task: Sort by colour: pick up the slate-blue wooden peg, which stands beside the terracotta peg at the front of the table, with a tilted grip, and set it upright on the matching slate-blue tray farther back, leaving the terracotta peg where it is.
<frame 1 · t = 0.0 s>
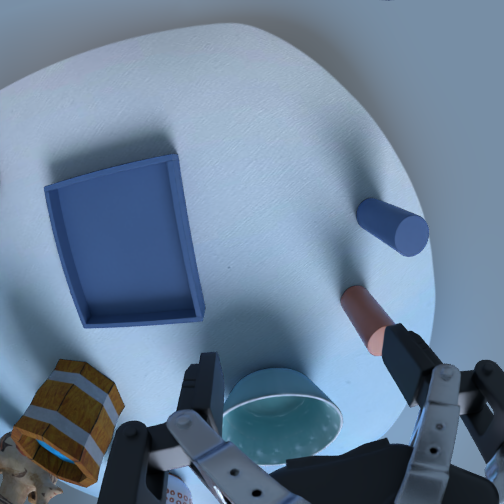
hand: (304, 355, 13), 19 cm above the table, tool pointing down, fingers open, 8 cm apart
blue peg: (371, 214, 31), on the table
terracotta peg: (354, 299, 34), on the table
vase: (163, 478, 47), on the table
blue tray: (125, 245, 31), on the table
wooden banded barrel: (75, 393, 38), on the table
bowl: (272, 390, 38), on the table
ceramic vessel: (42, 442, 45), on the table
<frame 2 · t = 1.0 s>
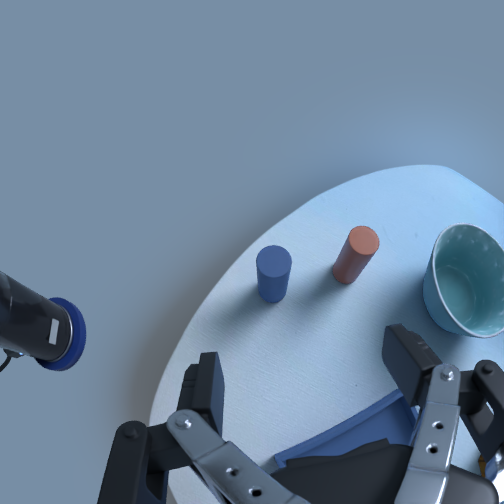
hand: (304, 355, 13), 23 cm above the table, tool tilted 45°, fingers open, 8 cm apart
blue peg: (272, 289, 38), on the table
terracotta peg: (345, 271, 39), on the table
blue tray: (362, 469, 27), on the table
bowl: (448, 297, 36), on the table
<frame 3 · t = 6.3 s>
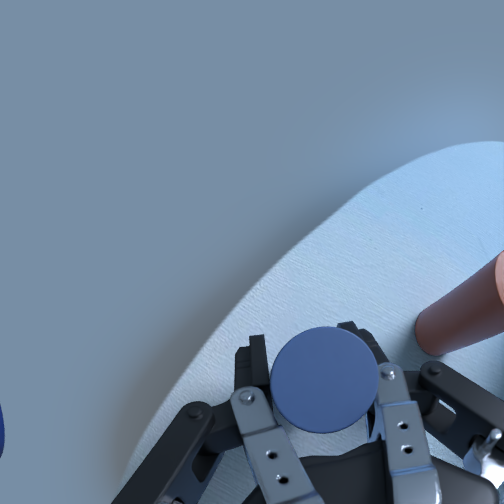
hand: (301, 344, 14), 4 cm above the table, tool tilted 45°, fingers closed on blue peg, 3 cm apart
blue peg: (299, 385, 17), on the table, touching gripper
terracotta peg: (436, 330, 17), on the table
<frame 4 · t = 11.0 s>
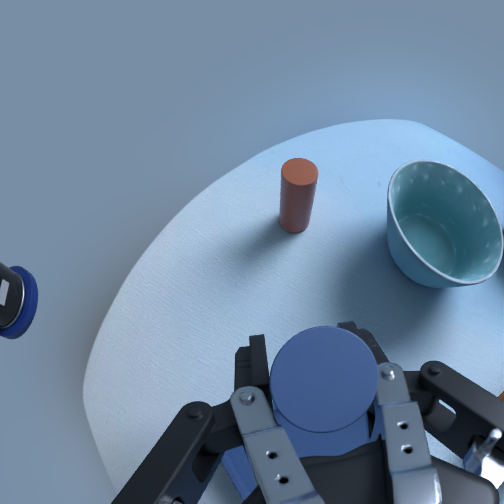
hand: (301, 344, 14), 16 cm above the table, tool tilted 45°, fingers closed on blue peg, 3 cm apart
blue peg: (299, 385, 17), point 12 cm above the table, touching gripper
terracotta peg: (294, 220, 36), on the table
blue tray: (321, 454, 24), on the table
bowl: (422, 249, 33), on the table
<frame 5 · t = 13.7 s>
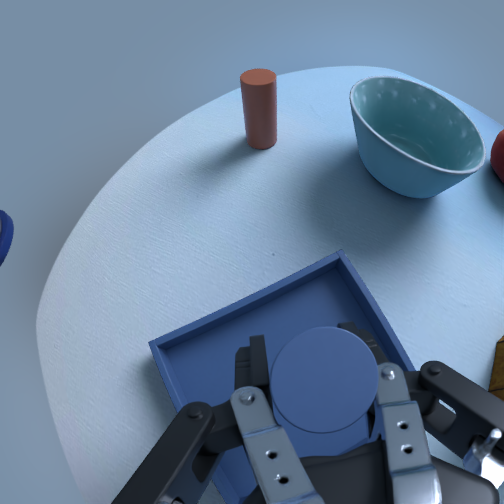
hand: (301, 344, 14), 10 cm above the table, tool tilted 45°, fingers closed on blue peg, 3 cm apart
blue peg: (300, 385, 17), point 6 cm above the table, touching gripper
terracotta peg: (261, 139, 34), on the table
blue tray: (292, 385, 22), on the table
bowl: (400, 167, 31), on the table
when the fingers open (5 cm above the table, at t = 15.5 s): blue peg stays where it is, resting on blue tray.
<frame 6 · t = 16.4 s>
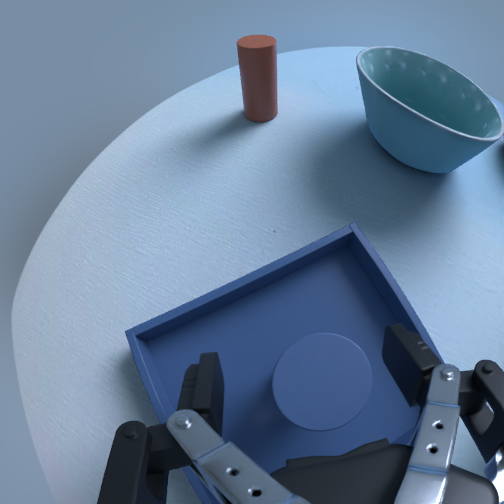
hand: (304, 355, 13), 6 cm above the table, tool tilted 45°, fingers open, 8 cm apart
blue peg: (300, 386, 17), point 1 cm above the table, touching blue tray
terracotta peg: (261, 112, 30), on the table
blue tray: (297, 385, 18), on the table
bowl: (412, 142, 28), on the table
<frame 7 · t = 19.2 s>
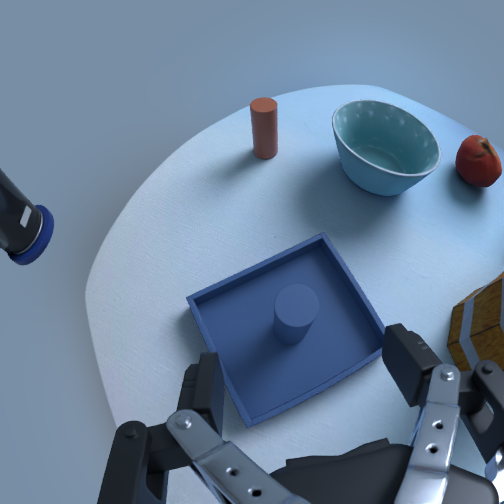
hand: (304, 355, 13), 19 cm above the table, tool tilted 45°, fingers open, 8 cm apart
blue peg: (290, 328, 31), point 1 cm above the table, touching blue tray
terracotta peg: (265, 151, 44), on the table
blue tray: (289, 329, 32), on the table
wooden banded barrel: (495, 350, 28), on the table
bowl: (374, 172, 41), on the table
red round fruit: (469, 176, 41), on the table
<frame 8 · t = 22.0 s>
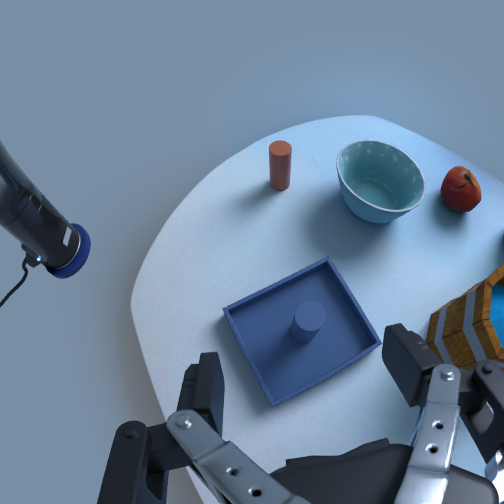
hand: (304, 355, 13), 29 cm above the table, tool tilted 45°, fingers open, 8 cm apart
blue peg: (302, 331, 41), point 1 cm above the table, touching blue tray
terracotta peg: (279, 183, 54), on the table
blue tray: (301, 332, 41), on the table
wooden banded barrel: (467, 349, 37), on the table
bowl: (370, 201, 51), on the table
red round fruit: (453, 201, 50), on the table
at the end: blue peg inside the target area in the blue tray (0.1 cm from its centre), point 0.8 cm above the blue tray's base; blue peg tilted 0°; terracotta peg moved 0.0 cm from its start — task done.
